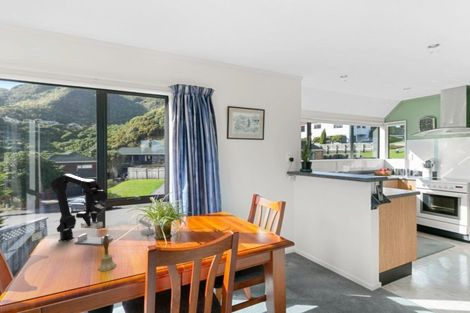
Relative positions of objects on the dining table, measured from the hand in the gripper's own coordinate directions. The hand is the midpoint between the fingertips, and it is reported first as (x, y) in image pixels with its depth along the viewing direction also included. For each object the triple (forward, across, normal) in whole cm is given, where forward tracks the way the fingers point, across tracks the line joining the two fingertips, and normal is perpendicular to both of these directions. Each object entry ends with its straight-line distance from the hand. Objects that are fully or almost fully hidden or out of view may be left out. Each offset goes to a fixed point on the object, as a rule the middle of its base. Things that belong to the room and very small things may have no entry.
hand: (91, 225), depth 168 cm
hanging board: (+11, +1, 0) cm, 11 cm away
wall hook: (+11, +22, -24) cm, 35 cm away
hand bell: (+11, -29, -31) cm, 44 cm away
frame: (+1, 0, 0) cm, 1 cm away
